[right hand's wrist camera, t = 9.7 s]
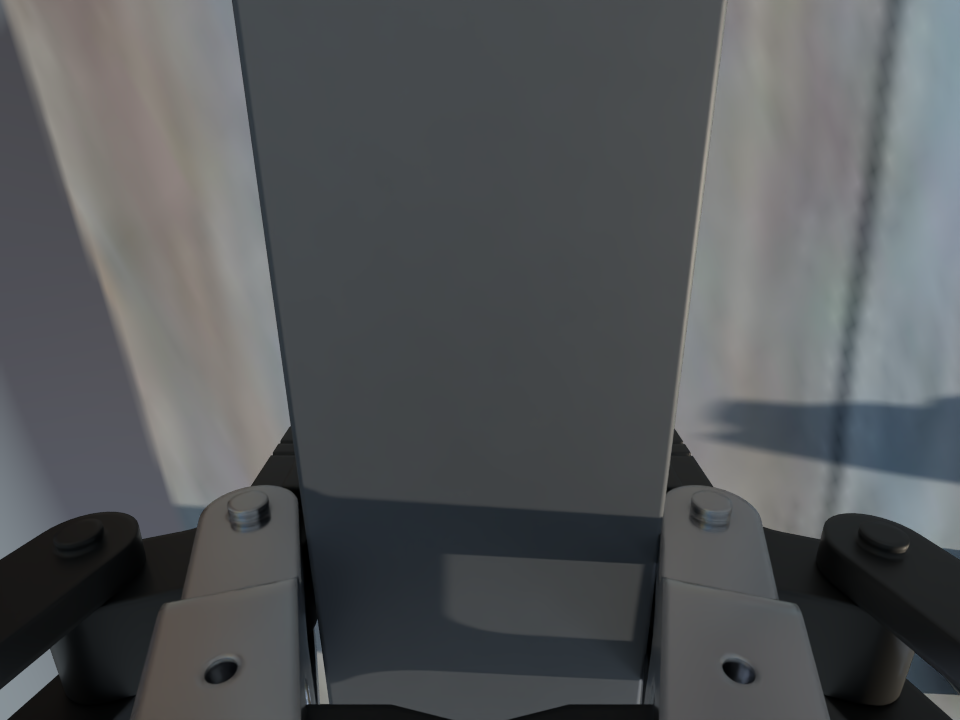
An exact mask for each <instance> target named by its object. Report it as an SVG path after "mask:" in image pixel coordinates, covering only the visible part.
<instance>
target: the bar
mask: <svg viewBox="0 0 960 720" xmlns="http://www.w3.org/2000/svg"><path fill="white" fill-rule="evenodd" d="M727 2H728V0H232V4H233V11H234V18H235V26H236V33H237V40H238V47H239V55H240V62H241V69H242V76H243V83H244V91H245V98H246V105H247V112H248V120H249V127H250V134H251V141H252V148H253V156H254V163H255V170H256V177H257V185H258V192H259V199H260V206H261V213H262V221H263V228H264V235H265V242H266V249H267V257H268V264H269V271H270V278H271V286H272V293H273V300H274V307H275V314H276V322H277V329H278V336H279V343H280V351H281V358H282V365H283V372H284V379H285V387H286V394H287V401H288V408H289V416H290V423H291V430H292V437H293V444H294V452H295V459H296V466H297V473H298V480H299V488H300V495H301V502H302V509H303V517H304V524H305V531H306V538H307V545H308V553H309V560H310V567H311V574H312V582H313V589H314V596H315V603H316V610H317V618H318V625H319V632H320V639H321V647H322V654H323V661H324V668H325V675H326V683H327V690H328V697H329V704H392V705H396V706H400V707H404V708H408V709H412V710H416V711H420V712H424V713H428V714H432V715H436V716H440V717H444V718H448V719H452V720H508V719H512V718H516V717H520V716H524V715H528V714H532V713H536V712H540V711H544V710H548V709H552V708H556V707H560V706H564V705H568V704H640V696H641V680H642V672H643V665H644V657H645V654H646V650H647V642H648V634H649V626H650V618H651V610H652V602H653V594H654V586H655V578H656V570H657V558H658V551H659V543H660V536H661V530H662V522H663V514H664V506H665V498H666V490H667V482H668V474H669V466H670V458H671V450H672V442H673V434H674V426H675V418H676V410H677V402H678V394H679V386H680V378H681V370H682V362H683V354H684V346H685V338H686V330H687V322H688V314H689V306H690V298H691V290H692V282H693V274H694V266H695V258H696V250H697V242H698V234H699V226H700V218H701V210H702V202H703V194H704V186H705V178H706V170H707V162H708V154H709V146H710V138H711V130H712V122H713V114H714V106H715V98H716V90H717V82H718V74H719V66H720V58H721V50H722V42H723V34H724V26H725V18H726V10H727Z"/></svg>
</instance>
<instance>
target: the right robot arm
mask: <svg viewBox="0 0 960 720" xmlns="http://www.w3.org/2000/svg"><path fill="white" fill-rule="evenodd" d="M317 619H318V618H317V610H316V603H315V596H314V589H313V582H312V574H311V567H310V560H309V553H308V545H307V538H306V531H305V524H304V517H303V509H302V502H301V495H300V488H299V480H298V473H297V466H296V459H295V452H294V444H293V437H292V430H291V426H290V427H289V429H288V430H287V432H286V433H285V435H284V436H283V438H282V439H281V443H280V444H278V445H277V447H276V449H275V450H274V452H273V455H271V456H270V458H269V459H268V461H267V462H266V464H265V465H264V467H263V468H262V470H261V471H260V473H259V474H258V476H257V478H256V479H255V481H254V482H253V484H252V485H251V487H245V488H241V489H238V490H235V491H232V492H229V493H227V494H225V495H223V496H221V497H219V498H218V499H216V500H214V501H213V502H212V503H210V504H209V505H208V506H207V507H206V508H205V509H204V510H203V512H202V513H201V515H200V518H199V521H198V526H197V528H194V529H190V530H186V531H182V532H176V533H172V534H166V535H161V536H156V537H151V538H146V539H142V537H141V533H140V529H139V525H138V522H137V520H136V519H135V518H134V517H132V516H130V515H128V514H125V513H120V512H100V513H93V514H88V515H84V516H80V517H77V518H74V519H71V520H68V521H66V522H63V523H61V524H58V525H56V526H54V527H52V528H50V529H49V530H47V531H45V532H44V533H42V534H40V535H39V536H37V537H36V538H34V539H32V540H31V541H29V542H28V543H26V544H25V545H23V546H21V547H20V548H18V549H17V550H15V551H13V552H12V553H10V554H9V555H7V556H6V557H4V558H2V559H1V560H0V689H1V688H3V687H4V686H5V685H6V684H8V683H9V682H10V681H11V680H12V679H14V678H15V677H16V676H17V675H18V674H20V673H21V672H22V671H23V670H24V669H26V668H27V667H28V666H29V665H30V664H32V663H33V662H34V661H35V660H36V659H38V658H39V657H40V656H41V655H42V654H44V653H45V652H46V651H47V650H48V649H50V650H51V653H52V656H53V659H54V662H55V664H56V667H57V670H58V673H59V674H58V675H57V676H56V677H55V678H54V679H53V680H52V681H51V682H49V683H48V684H47V685H46V686H45V687H44V688H43V689H41V690H40V691H39V692H38V693H37V694H36V695H35V696H34V697H33V698H31V699H30V700H29V701H28V702H27V703H26V704H24V705H23V706H22V707H21V708H20V709H19V710H18V711H17V712H15V713H14V714H13V715H12V716H11V717H10V718H9V719H8V720H452V719H448V718H444V717H440V716H436V715H432V714H428V713H424V712H420V711H416V710H412V709H408V708H404V707H400V706H396V705H392V704H320V697H319V681H318V665H317V649H316V638H315V630H314V627H315V624H316V622H317ZM914 653H916V654H918V655H919V656H920V657H921V658H922V659H924V660H925V661H926V662H927V663H928V664H930V665H931V666H932V667H933V668H934V669H936V670H937V671H938V672H939V673H940V674H942V675H943V676H944V678H945V679H946V680H947V681H948V682H949V683H950V685H951V686H952V687H953V688H954V689H955V690H956V691H957V693H958V694H959V695H960V560H959V559H958V558H956V557H954V556H953V555H951V554H950V553H948V552H947V551H945V550H943V549H942V548H940V547H939V546H937V545H936V544H934V543H932V542H931V541H929V540H928V539H926V538H925V537H923V536H921V535H920V534H918V533H916V532H915V531H913V530H911V529H909V528H907V527H905V526H903V525H901V524H898V523H896V522H893V521H890V520H887V519H884V518H880V517H876V516H872V515H866V514H857V513H846V514H839V515H836V516H833V517H831V518H829V519H828V520H827V521H826V522H825V524H824V527H823V531H822V535H821V539H815V538H810V537H805V536H800V535H795V534H789V533H784V532H780V531H775V530H771V529H768V528H765V527H763V526H762V521H761V518H760V515H759V513H758V512H757V510H756V509H755V508H754V507H753V506H752V505H751V504H750V503H748V502H747V501H746V500H744V499H742V498H741V497H739V496H737V495H735V494H733V493H731V492H728V491H725V490H722V489H719V488H714V487H713V486H712V484H711V483H710V481H709V480H708V478H707V477H706V475H705V474H704V472H703V471H702V469H701V468H700V466H699V465H698V463H697V462H696V460H695V459H694V457H693V456H691V453H690V451H689V450H688V448H687V447H686V445H685V444H683V441H682V439H681V438H680V436H679V435H678V433H677V432H676V430H675V429H674V434H673V442H672V450H671V458H670V466H669V474H668V482H667V490H666V498H665V506H664V514H663V522H662V530H661V536H660V543H659V551H658V558H657V570H656V578H655V586H654V594H653V602H652V610H651V618H650V626H649V634H648V642H647V650H646V654H645V657H644V665H643V672H642V680H641V696H640V704H568V705H564V706H560V707H556V708H552V709H548V710H544V711H540V712H536V713H532V714H528V715H524V716H520V717H516V718H512V719H508V720H952V719H951V718H950V717H949V716H948V715H947V714H946V713H945V712H943V711H942V710H941V709H940V708H939V707H938V706H937V705H936V704H934V703H933V702H932V701H931V700H930V699H929V698H928V697H926V696H925V695H924V694H923V693H922V692H921V691H920V690H919V689H917V688H916V687H915V686H914V685H913V684H912V683H911V682H909V681H908V680H907V679H906V676H907V673H908V670H909V668H910V665H911V662H912V659H913V656H914Z"/></svg>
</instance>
